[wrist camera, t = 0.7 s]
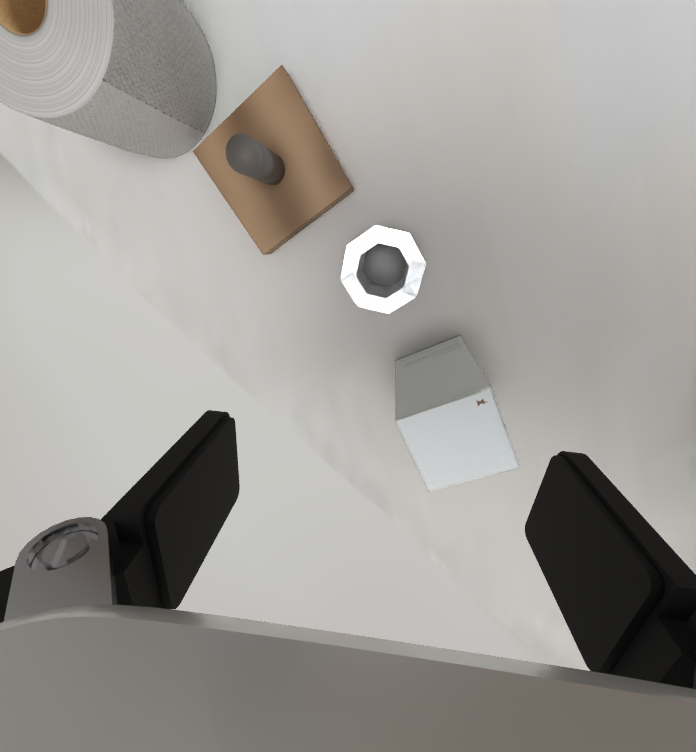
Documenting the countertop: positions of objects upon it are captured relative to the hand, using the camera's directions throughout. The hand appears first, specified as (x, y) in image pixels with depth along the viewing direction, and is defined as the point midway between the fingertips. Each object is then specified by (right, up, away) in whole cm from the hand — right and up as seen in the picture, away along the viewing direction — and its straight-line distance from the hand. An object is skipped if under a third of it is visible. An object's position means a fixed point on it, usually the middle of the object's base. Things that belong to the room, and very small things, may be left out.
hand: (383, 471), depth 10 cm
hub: (+2, +14, +22) cm, 26 cm away
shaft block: (-7, +21, +21) cm, 31 cm away
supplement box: (+9, +3, +26) cm, 28 cm away
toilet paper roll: (-18, +29, +19) cm, 39 cm away
